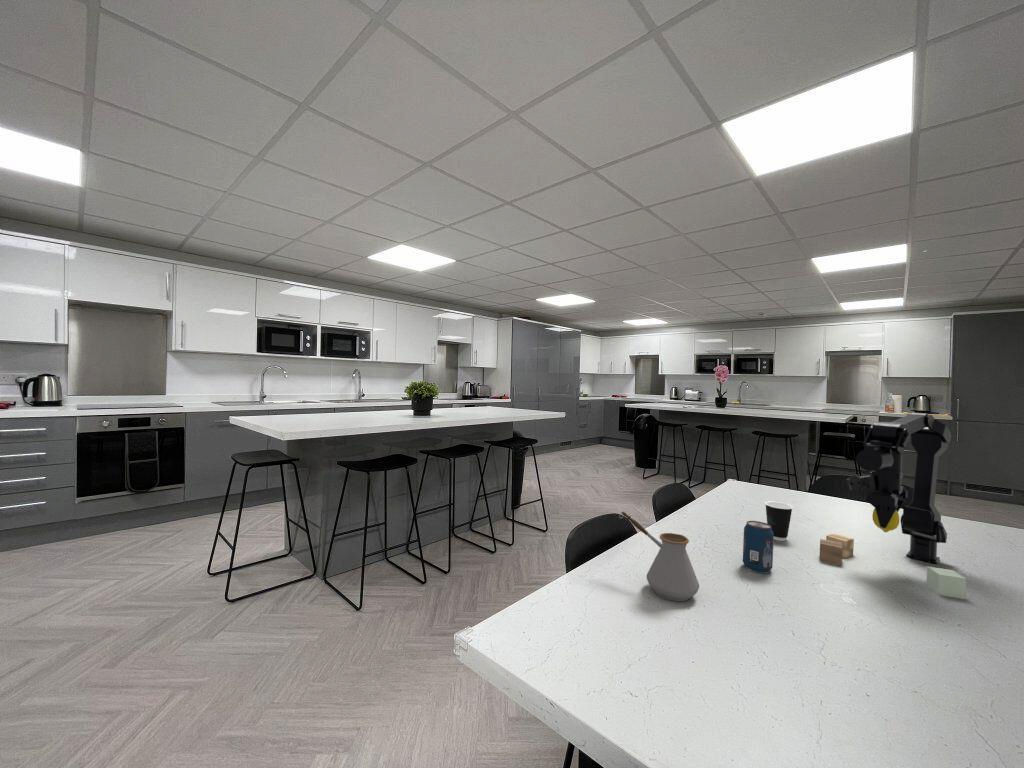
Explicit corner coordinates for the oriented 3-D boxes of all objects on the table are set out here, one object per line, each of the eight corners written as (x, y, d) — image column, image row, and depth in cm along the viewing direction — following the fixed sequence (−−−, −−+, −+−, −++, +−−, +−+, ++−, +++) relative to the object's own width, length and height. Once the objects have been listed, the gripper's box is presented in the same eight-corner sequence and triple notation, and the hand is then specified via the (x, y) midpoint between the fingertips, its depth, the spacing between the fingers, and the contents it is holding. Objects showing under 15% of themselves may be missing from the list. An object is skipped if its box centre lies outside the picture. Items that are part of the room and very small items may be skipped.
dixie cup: (794, 538, 137) (795, 505, 137) (788, 544, 132) (789, 509, 132) (767, 532, 143) (768, 500, 143) (760, 537, 137) (761, 503, 137)
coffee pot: (708, 596, 96) (711, 531, 96) (680, 611, 89) (683, 541, 89) (632, 562, 113) (634, 507, 113) (603, 572, 106) (606, 514, 106)
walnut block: (819, 555, 124) (820, 538, 124) (840, 560, 121) (841, 543, 121) (819, 560, 120) (820, 543, 120) (841, 565, 117) (842, 548, 117)
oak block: (833, 549, 129) (834, 533, 129) (853, 555, 125) (853, 538, 125) (825, 551, 127) (826, 535, 127) (845, 558, 123) (845, 541, 123)
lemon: (904, 536, 111) (905, 506, 111) (880, 534, 112) (881, 504, 112) (890, 530, 116) (891, 501, 116) (867, 527, 118) (868, 499, 118)
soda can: (747, 560, 117) (748, 518, 117) (775, 569, 112) (777, 524, 113) (738, 567, 113) (740, 523, 113) (768, 577, 108) (769, 530, 108)
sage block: (926, 585, 106) (927, 566, 106) (952, 590, 104) (952, 570, 104) (937, 594, 102) (938, 574, 102) (965, 599, 100) (965, 578, 100)
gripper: (858, 460, 126) (857, 512, 126) (841, 466, 115) (839, 523, 115) (909, 467, 118) (907, 522, 118) (895, 474, 106) (893, 535, 106)
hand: (885, 525), depth 114 cm, fingers closed on lemon, 5 cm apart
